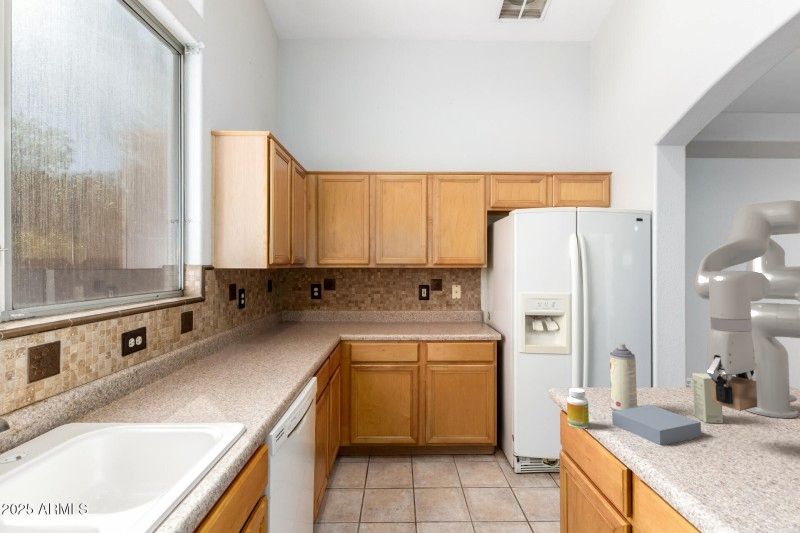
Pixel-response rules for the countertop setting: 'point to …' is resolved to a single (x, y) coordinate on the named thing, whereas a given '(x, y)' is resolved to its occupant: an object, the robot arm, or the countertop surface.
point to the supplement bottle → (577, 409)
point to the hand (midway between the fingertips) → (734, 399)
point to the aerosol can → (623, 379)
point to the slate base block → (656, 424)
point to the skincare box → (705, 399)
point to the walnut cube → (739, 393)
